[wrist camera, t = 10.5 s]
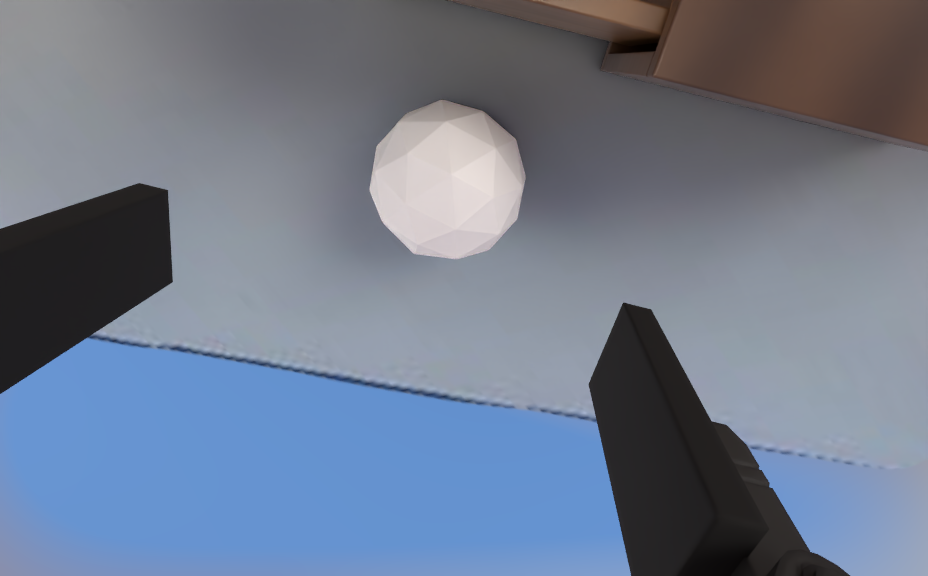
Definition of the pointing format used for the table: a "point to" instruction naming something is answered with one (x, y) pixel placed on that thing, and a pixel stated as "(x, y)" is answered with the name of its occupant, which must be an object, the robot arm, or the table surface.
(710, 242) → the table surface
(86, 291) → the robot arm
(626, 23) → the drawer
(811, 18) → the cabinet
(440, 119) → the geometric ball
